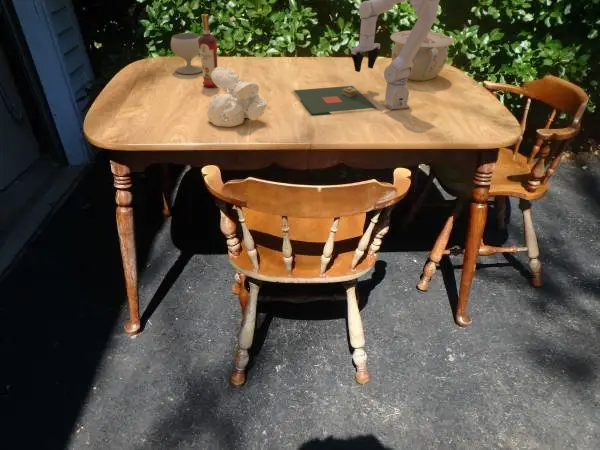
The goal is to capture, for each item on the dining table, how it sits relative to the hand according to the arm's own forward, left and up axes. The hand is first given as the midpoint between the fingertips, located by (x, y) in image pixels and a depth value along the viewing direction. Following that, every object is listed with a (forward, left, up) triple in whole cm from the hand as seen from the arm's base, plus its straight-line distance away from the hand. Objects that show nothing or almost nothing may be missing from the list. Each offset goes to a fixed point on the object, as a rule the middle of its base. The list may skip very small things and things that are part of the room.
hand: (364, 69), depth 191 cm
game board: (-7, +15, -9) cm, 19 cm away
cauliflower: (-18, +55, -10) cm, 58 cm away
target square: (-8, +16, -9) cm, 20 cm away
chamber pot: (+14, -32, -10) cm, 37 cm away
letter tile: (-3, +7, -9) cm, 11 cm away
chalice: (+44, +67, -10) cm, 81 cm away
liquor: (+21, +60, -10) cm, 64 cm away
